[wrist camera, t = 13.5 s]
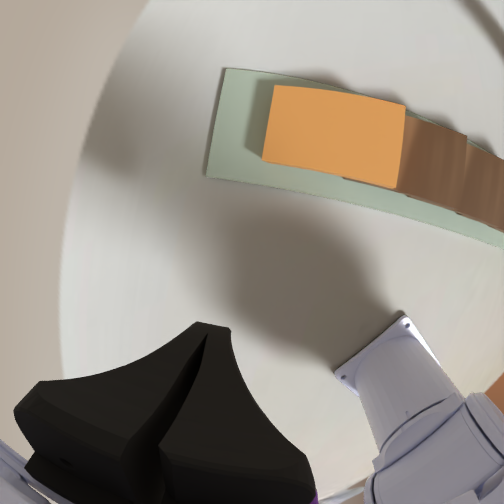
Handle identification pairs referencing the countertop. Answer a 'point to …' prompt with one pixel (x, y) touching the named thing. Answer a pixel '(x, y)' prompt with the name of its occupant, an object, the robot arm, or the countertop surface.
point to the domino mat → (301, 180)
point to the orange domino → (335, 134)
